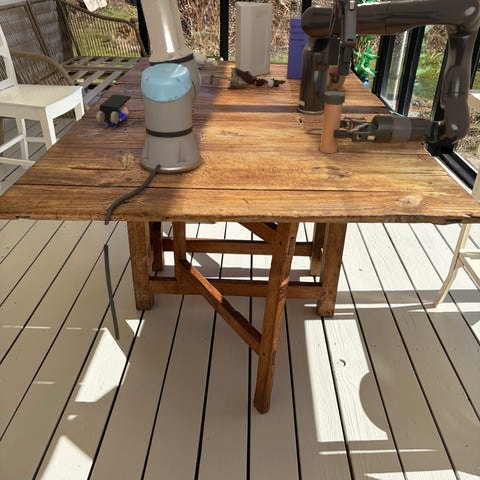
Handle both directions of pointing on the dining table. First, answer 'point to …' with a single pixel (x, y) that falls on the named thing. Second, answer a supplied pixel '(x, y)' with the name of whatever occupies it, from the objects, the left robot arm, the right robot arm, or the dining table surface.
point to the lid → (334, 97)
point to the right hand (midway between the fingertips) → (331, 128)
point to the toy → (203, 60)
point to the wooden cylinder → (330, 127)
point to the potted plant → (334, 79)
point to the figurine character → (113, 110)
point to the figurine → (246, 79)
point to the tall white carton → (253, 37)
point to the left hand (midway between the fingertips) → (337, 70)
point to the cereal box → (295, 48)
